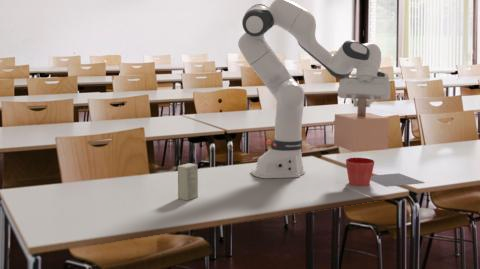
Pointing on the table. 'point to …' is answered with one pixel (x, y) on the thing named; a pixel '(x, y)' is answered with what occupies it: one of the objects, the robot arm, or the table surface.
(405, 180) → the mat
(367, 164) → the flower pot
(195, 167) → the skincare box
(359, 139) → the box with top peg
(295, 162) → the robot arm
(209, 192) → the table surface
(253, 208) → the table surface
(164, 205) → the table surface
